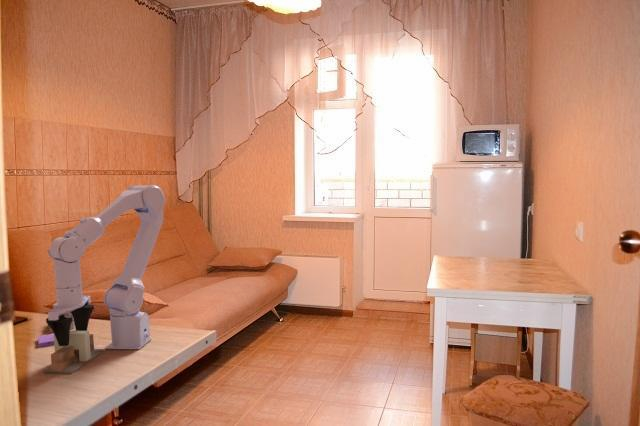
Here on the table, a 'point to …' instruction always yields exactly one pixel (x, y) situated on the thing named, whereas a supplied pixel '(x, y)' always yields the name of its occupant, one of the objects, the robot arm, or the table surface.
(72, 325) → the egg carton
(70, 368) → the slotted base
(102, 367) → the table surface
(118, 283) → the robot arm
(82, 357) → the cream h-shaped block
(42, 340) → the sponges
